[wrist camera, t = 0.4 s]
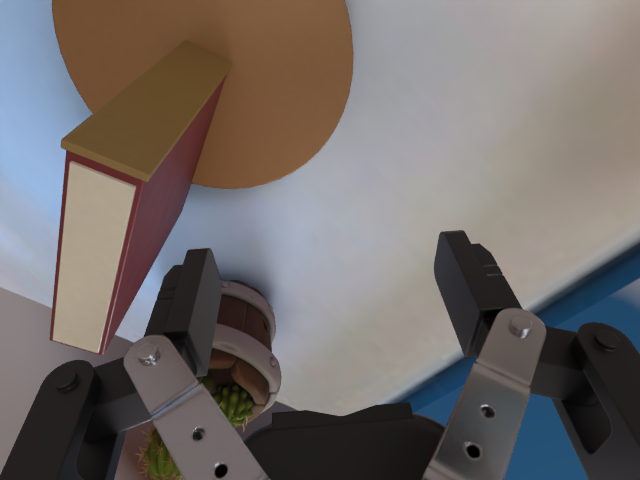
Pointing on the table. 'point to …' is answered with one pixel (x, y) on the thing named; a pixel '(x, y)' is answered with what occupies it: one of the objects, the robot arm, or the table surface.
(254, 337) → the flowerpot
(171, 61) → the book
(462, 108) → the table surface
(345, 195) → the table surface
